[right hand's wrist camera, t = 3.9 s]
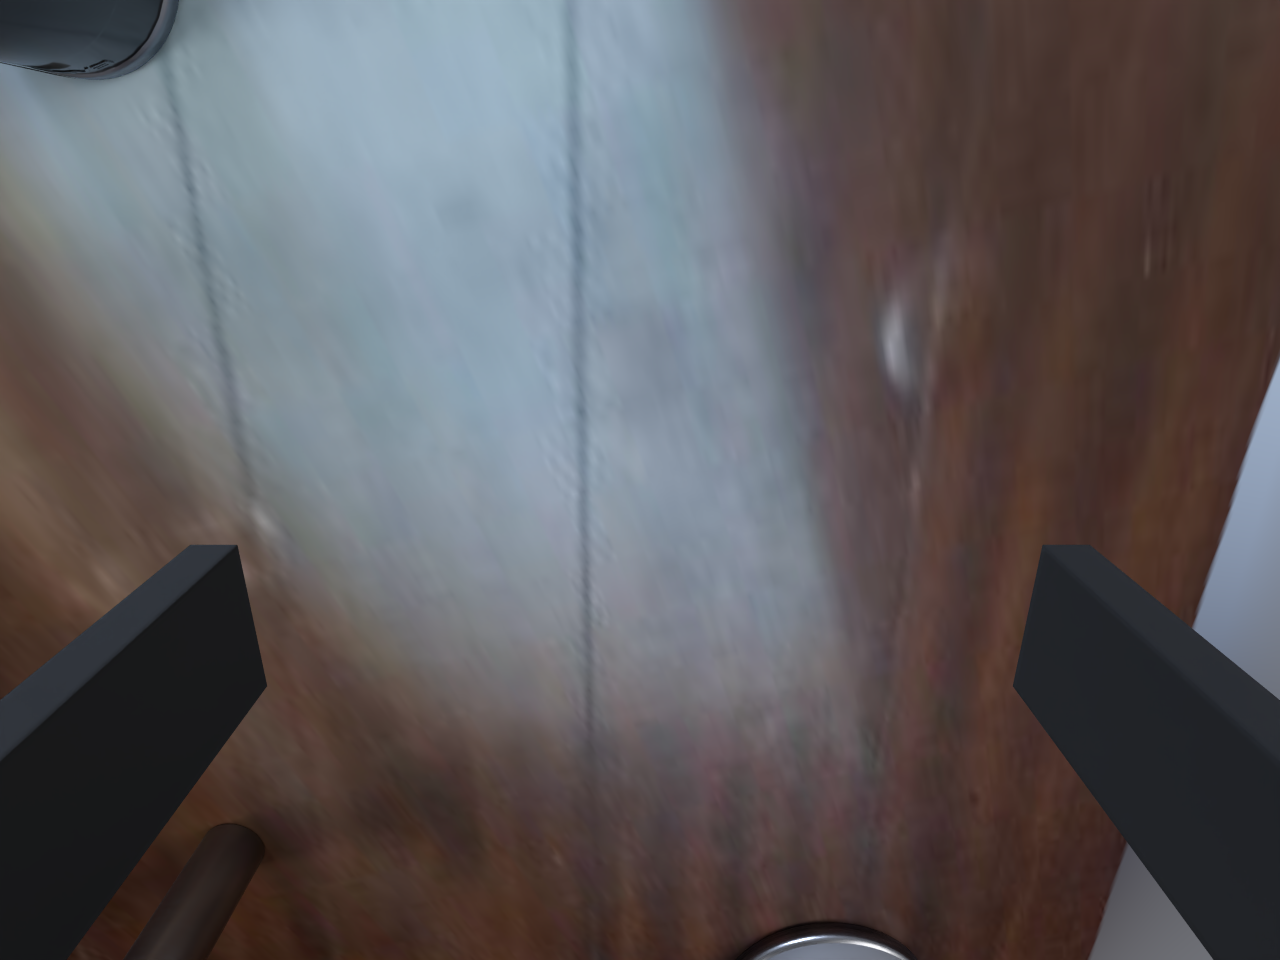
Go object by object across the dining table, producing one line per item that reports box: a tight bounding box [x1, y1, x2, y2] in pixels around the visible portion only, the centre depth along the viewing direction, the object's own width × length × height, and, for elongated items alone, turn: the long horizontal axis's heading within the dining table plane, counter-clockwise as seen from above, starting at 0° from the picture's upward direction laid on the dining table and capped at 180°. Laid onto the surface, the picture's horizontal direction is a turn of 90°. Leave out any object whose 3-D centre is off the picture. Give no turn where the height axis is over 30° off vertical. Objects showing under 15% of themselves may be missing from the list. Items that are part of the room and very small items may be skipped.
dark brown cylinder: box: [123, 824, 265, 960], centre depth 45 cm, size 4×4×15 cm
